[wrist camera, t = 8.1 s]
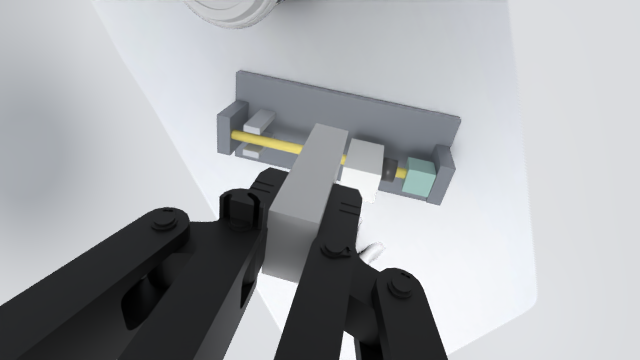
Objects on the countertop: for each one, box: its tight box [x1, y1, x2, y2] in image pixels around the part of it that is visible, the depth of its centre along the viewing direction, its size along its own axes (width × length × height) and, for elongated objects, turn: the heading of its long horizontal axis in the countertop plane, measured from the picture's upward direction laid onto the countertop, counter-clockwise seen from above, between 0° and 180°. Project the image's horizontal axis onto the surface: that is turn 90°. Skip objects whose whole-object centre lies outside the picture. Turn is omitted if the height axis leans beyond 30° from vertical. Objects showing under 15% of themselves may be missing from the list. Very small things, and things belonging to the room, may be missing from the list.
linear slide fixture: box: [217, 71, 461, 205], centre depth 42 cm, size 28×12×8 cm, turn 81°
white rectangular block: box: [340, 138, 384, 203], centre depth 38 cm, size 4×4×7 cm
